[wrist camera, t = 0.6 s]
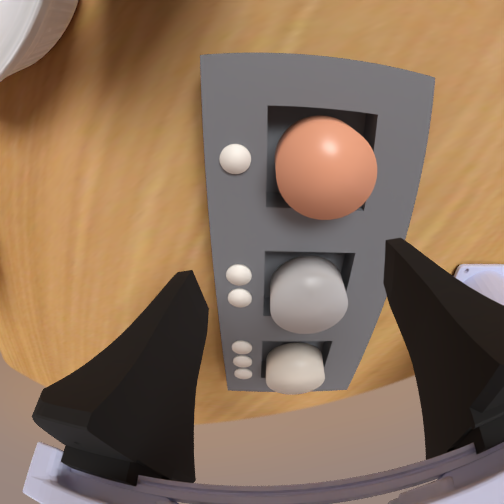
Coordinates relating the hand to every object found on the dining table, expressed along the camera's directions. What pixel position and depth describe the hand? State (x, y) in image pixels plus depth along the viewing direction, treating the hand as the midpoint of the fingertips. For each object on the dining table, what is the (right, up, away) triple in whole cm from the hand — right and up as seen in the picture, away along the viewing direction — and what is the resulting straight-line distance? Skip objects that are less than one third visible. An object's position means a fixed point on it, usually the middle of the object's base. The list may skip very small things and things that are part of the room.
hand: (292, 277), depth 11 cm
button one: (+2, +6, +4) cm, 7 cm away
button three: (+2, -8, +14) cm, 16 cm away
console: (+2, 0, +11) cm, 11 cm away
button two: (+2, -1, +9) cm, 9 cm away
